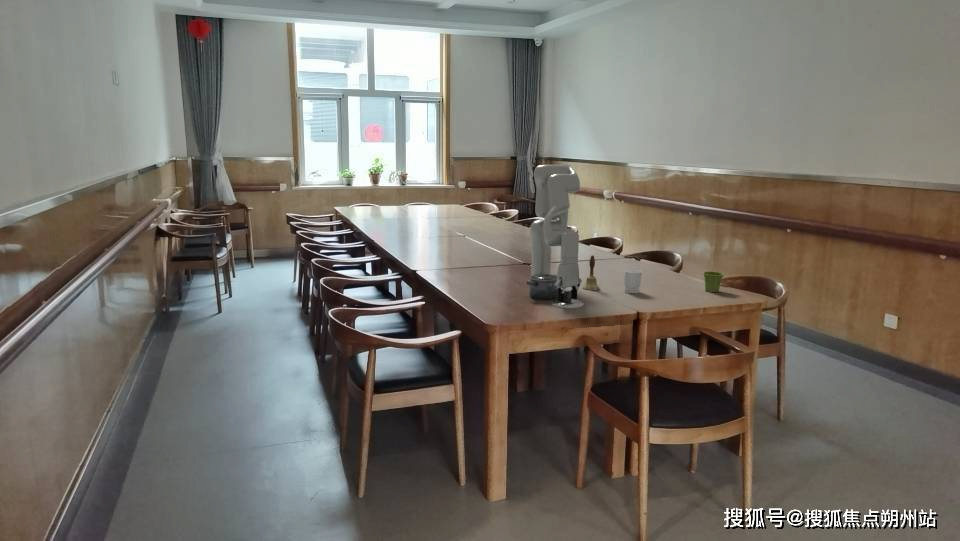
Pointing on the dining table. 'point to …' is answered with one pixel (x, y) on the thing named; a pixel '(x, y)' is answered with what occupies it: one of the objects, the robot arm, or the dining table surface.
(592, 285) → the hand bell
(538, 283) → the pot
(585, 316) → the dining table surface
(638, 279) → the white cup
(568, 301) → the lid
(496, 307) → the dining table surface
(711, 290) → the plant pot
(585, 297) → the dining table surface
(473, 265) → the dining table surface
